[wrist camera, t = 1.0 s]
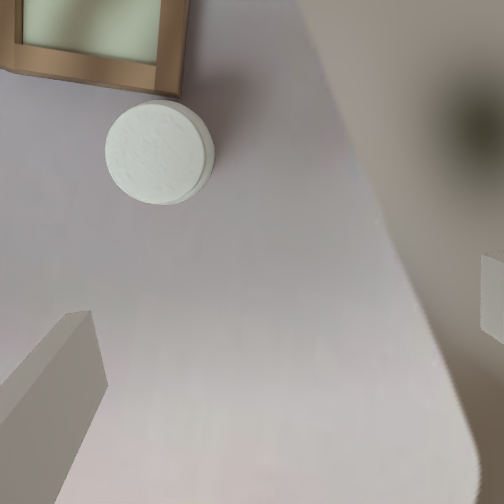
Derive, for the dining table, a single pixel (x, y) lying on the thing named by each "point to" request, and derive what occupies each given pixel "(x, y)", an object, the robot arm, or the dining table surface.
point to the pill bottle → (159, 152)
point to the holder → (97, 42)
